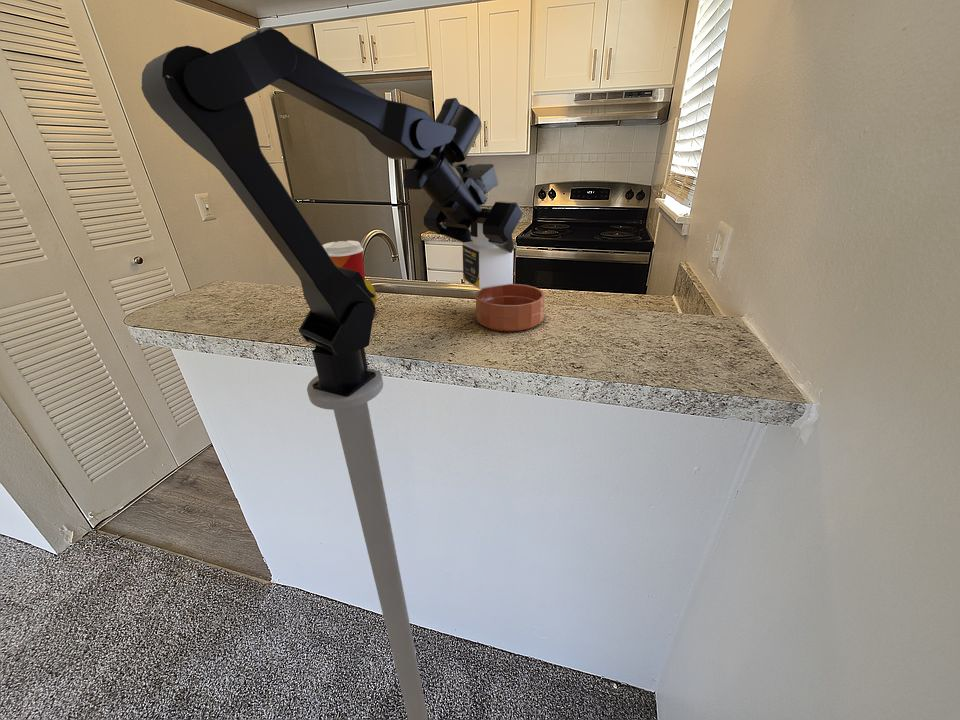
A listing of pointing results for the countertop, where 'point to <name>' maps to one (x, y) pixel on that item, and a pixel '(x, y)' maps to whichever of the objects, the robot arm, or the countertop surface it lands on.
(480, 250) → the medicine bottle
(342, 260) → the paper cup
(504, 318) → the bowl
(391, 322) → the countertop surface
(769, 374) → the countertop surface
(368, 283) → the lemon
